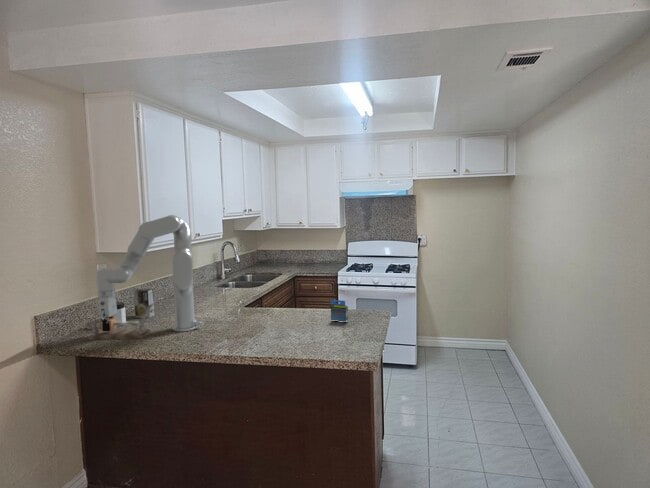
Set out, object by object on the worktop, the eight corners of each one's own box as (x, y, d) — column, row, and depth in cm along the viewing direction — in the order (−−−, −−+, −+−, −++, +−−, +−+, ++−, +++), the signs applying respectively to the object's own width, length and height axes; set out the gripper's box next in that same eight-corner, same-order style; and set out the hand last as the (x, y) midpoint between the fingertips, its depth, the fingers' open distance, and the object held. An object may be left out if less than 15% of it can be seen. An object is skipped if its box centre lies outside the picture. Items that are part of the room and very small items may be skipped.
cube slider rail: (149, 331, 217) (148, 315, 216) (142, 337, 207) (141, 321, 206) (94, 333, 215) (93, 317, 215) (84, 340, 205) (83, 323, 205)
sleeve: (116, 327, 213) (115, 318, 213) (111, 330, 208) (111, 320, 208) (106, 328, 213) (105, 318, 212) (101, 331, 208) (100, 321, 208)
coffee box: (155, 315, 252) (153, 288, 250) (149, 318, 245) (148, 290, 244) (140, 315, 253) (139, 288, 251) (134, 317, 246) (133, 290, 245)
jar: (105, 325, 230) (103, 304, 229) (118, 322, 237) (117, 301, 236) (115, 327, 226) (114, 305, 225) (129, 324, 233) (127, 302, 232)
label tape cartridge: (348, 321, 229) (348, 299, 228) (345, 323, 226) (345, 300, 225) (333, 320, 233) (333, 298, 232) (330, 321, 229) (330, 299, 228)
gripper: (106, 296, 201) (109, 334, 202) (121, 290, 218) (123, 324, 219) (90, 297, 200) (92, 334, 202) (106, 290, 217) (108, 324, 219)
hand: (108, 328), depth 211 cm, fingers closed on sleeve, 5 cm apart
